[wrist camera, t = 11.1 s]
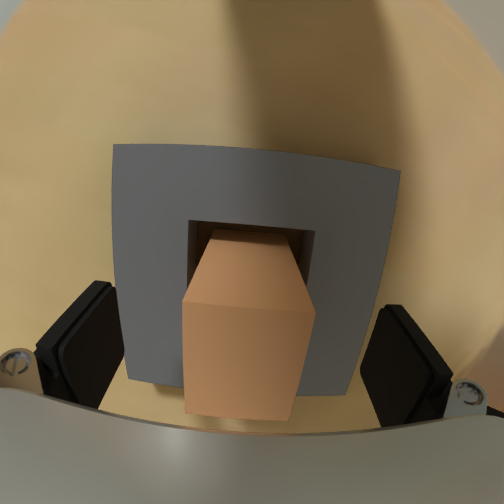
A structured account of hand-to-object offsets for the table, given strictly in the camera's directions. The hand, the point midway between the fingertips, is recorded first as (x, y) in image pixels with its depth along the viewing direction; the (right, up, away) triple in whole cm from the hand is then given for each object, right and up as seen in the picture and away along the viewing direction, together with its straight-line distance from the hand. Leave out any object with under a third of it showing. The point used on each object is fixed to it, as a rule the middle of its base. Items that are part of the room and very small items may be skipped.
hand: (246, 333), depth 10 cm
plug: (0, +2, +8) cm, 8 cm away
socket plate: (0, +2, +8) cm, 8 cm away
